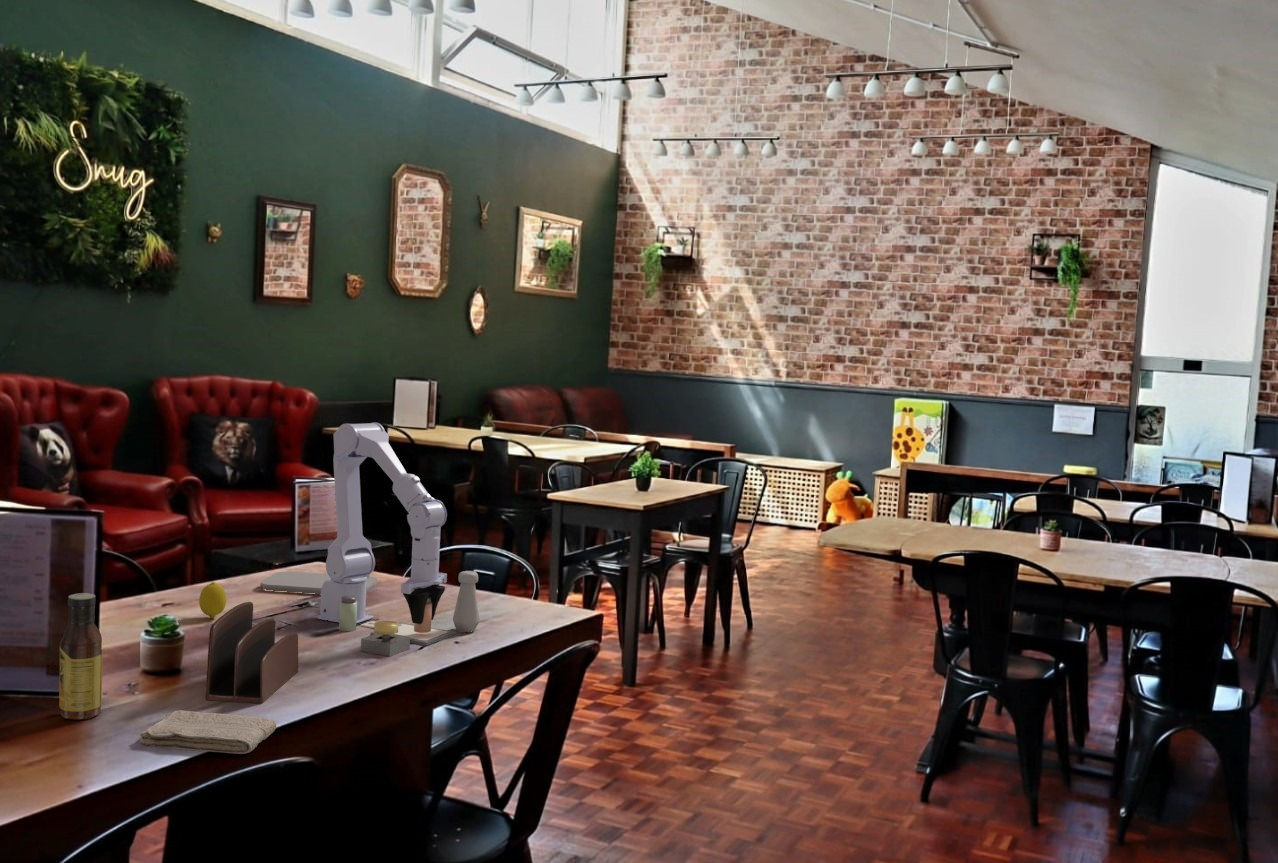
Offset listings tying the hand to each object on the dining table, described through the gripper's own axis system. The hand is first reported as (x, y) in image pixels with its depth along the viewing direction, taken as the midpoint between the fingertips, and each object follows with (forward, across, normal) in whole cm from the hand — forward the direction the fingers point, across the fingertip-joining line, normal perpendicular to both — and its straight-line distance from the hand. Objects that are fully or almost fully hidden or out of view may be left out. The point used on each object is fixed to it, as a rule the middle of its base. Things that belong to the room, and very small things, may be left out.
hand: (422, 621), depth 249 cm
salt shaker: (+4, +11, -4) cm, 12 cm away
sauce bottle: (+4, -72, +18) cm, 74 cm away
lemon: (+4, -12, +46) cm, 48 cm away
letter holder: (+4, -44, +6) cm, 45 cm away
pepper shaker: (+2, 0, 0) cm, 2 cm away
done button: (+2, -12, +1) cm, 12 cm away
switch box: (+4, -12, +1) cm, 13 cm away
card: (+4, +3, +14) cm, 15 cm away
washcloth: (+4, -69, -6) cm, 69 cm away
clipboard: (+4, +1, +3) cm, 5 cm away
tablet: (+4, +26, +47) cm, 54 cm away
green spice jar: (+4, -3, +17) cm, 18 cm away
